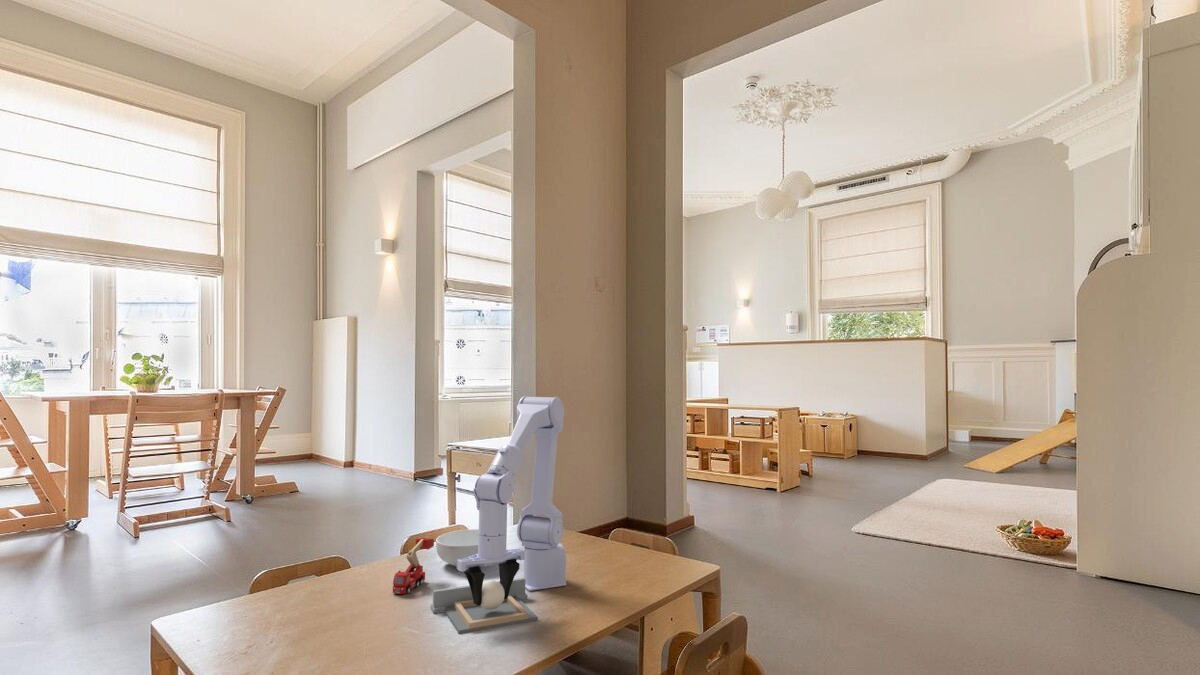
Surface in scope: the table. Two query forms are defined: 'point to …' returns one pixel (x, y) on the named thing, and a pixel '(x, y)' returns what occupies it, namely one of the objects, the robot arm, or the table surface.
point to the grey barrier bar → (470, 595)
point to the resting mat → (488, 615)
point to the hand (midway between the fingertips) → (490, 600)
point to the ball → (492, 595)
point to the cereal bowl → (457, 545)
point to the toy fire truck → (412, 569)
